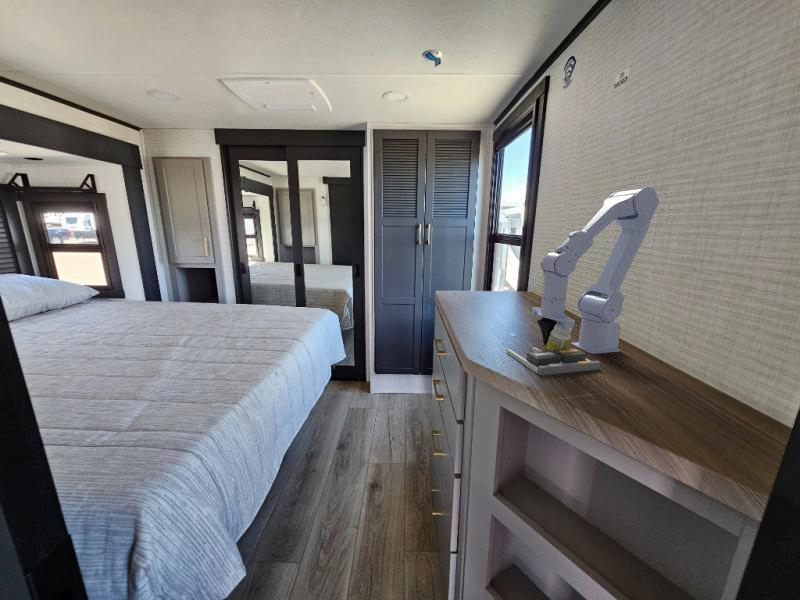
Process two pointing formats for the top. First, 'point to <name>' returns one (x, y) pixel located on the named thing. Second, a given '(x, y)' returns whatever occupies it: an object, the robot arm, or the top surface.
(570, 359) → the breaker
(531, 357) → the block
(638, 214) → the robot arm
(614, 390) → the top surface
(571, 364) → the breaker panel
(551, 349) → the supplement bottle
